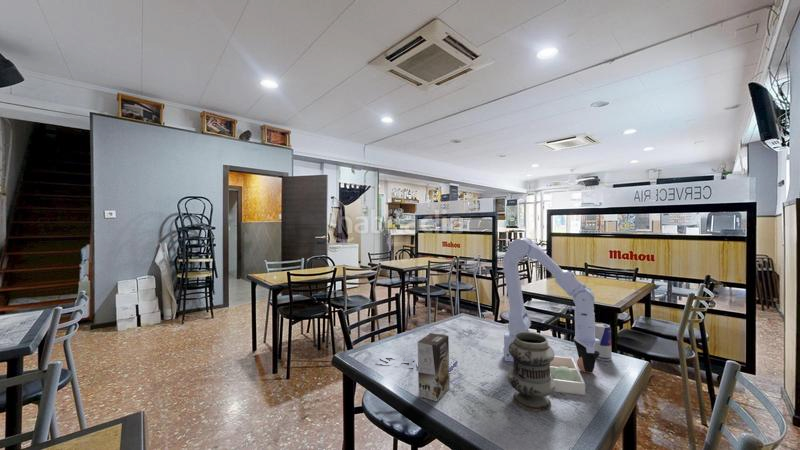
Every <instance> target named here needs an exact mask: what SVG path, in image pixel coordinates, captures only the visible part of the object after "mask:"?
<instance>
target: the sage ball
mask: <svg viewBox="0 0 800 450" xmlns="http://www.w3.org/2000/svg"><path fill="white" fill-rule="evenodd" d="M555 375H556V378H557V379H558V380H566V381H573V379H574V375H573V372H572V371H571V370H570V369H569V368H568V367H565V366H560V367H558V368H557V369H556V372H555Z"/></svg>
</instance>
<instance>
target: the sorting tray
mask: <svg viewBox="0 0 800 450" xmlns="http://www.w3.org/2000/svg"><path fill="white" fill-rule="evenodd" d="M560 366H565V367H568V368H569V369H570V370H571V371H572V372H573V375H574V379H573V381H566V380H558V379H557V378H556V375H555V372H556V369H557V368H558V367H560ZM550 375H551V376H552V378H553V379H554V381H555V390H554V391H553V392H557V393H563V394H571V395H578V396H583V397H584V396H586V382H585V380H584V378H583V376H582V374H581V372H580V369H579V367H578V365H577V362H575V359H574V358H573V357H568V356H557V355H555V356H554V359H553V360H552V361H551V362H550Z"/></svg>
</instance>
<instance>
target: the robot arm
mask: <svg viewBox="0 0 800 450" xmlns="http://www.w3.org/2000/svg"><path fill="white" fill-rule="evenodd" d="M524 257H526V258H527V259H532V260H535V261H537V262H538V263H540V265H542V266H543V267H544V268H545V269H546V270H547V271H548V272H549V273H551V274H552V275H553V276H554V281H555V282H554V283H556V285H558V286H559V287H560V288H561V289H562V290H563V291H564V293H566V294H567V295H568V296H569V297H571V298H572V300H573V301H572V302H573V303H574V305H575V306H574V308H575V309H574V332H575V333H574V335H575V336H574V338H572V342H573V343H574V345H575V347H576V350H577V351H576V352H577V356H578V358H579V357H582V360H583V365H584V369H585V372H584V373H586V372H589V373H594V369H595V367H594V365H596V361H597V360H598V359H597V358H598V356H599V354H600V353H599V352H598V351H594V346H595V344H596V343H600V340H599V339H597V338H595V323H596V317H595V315H596V313H595V306H594V304H595V293H594V292H593V291H592V288H590V287H588V286H587V285H586V283H583V282H581V281H580V280H579V279H578V278H577V277H576V274H575V273H574V272H572V271H571V272H570V270H564V269H562V268H561V267H560V266H559V265H558V264H557V263H556V262H555V261H554V260H553V259H552V258H551V257H550V256H549V255H548V254H547V253H546V252H545V251H544V250H543V249H542V248H541V247H540V246H539V245H538V244H537V243H535V242H533V241H532V239H530V238H529V237H519V238H516V239H514V240H512V241H511V243H509V245H507V250H506V252H505V253H504V256H503V259H502V266H503V267H502V268H503V274H504V280H505V285H506V286H505V287H506V292H507V300H508V304H509V313H508V318H509V321H508V324H507V329H508V332H504V333H503V340H504V341H503V345H504V346H503V350H502V351H503V354H504V356H503V357H504V361H505V362H512V363H513V357H512V356H511V355H510V353H509V345H510V344H511V343H512V342H513V341H514V339H515V335H516V334H518V333H522V332H530V330H529V328H530V327H531V326H532V321H531V318H530V316H529V315H528V312H527V309H526V307H525V303H524V298H523V297H524V296H523V290H522V286H521V284H522V283H521V279H520V272H519V267H518V264H519V263H520V262H521V261H522V259H523V258H524Z"/></svg>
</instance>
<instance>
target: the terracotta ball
mask: <svg viewBox="0 0 800 450" xmlns="http://www.w3.org/2000/svg"><path fill="white" fill-rule="evenodd" d="M576 365H577V368H578V370H579V371H581V372H584V373H589V374H590V372H585V369H584V365H583V360H582V357H579V356H578V358H577V360H576ZM595 365H596V364H595ZM595 365H594V368H595V367H596V366H595Z"/></svg>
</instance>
